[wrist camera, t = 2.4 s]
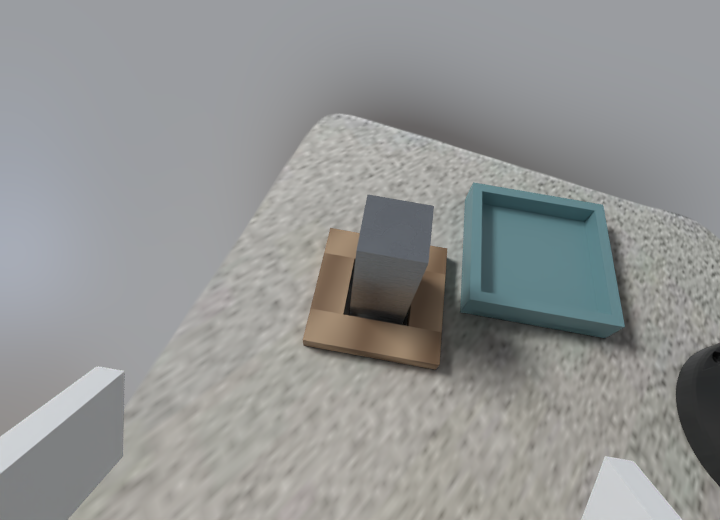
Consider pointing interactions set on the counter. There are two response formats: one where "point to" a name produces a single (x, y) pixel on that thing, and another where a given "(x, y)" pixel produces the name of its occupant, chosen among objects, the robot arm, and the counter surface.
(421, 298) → the socket plate
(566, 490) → the counter surface
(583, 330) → the tray
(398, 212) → the grey rectangular block
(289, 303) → the counter surface
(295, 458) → the counter surface
